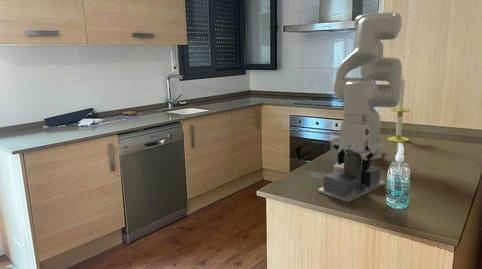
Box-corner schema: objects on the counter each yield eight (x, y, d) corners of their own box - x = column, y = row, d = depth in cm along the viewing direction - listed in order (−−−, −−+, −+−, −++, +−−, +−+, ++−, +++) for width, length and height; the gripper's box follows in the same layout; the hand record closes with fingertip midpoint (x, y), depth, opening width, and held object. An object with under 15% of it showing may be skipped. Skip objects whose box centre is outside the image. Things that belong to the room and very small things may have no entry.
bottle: (362, 183, 131) (363, 142, 127) (358, 189, 126) (360, 146, 122) (345, 181, 134) (346, 140, 130) (341, 186, 129) (342, 145, 125)
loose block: (336, 171, 146) (337, 162, 145) (347, 173, 144) (347, 163, 143) (332, 176, 142) (333, 166, 141) (343, 177, 140) (343, 167, 139)
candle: (405, 137, 192) (410, 73, 183) (411, 142, 182) (417, 75, 174) (385, 137, 193) (389, 74, 185) (390, 142, 183) (394, 76, 175)
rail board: (355, 175, 141) (356, 160, 140) (384, 184, 132) (385, 168, 131) (318, 191, 128) (318, 175, 126) (347, 202, 119) (348, 185, 117)
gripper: (385, 120, 120) (381, 170, 124) (340, 113, 133) (339, 158, 137) (371, 124, 115) (369, 176, 119) (327, 116, 128) (325, 163, 133)
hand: (352, 166), depth 128 cm, fingers open, 9 cm apart
